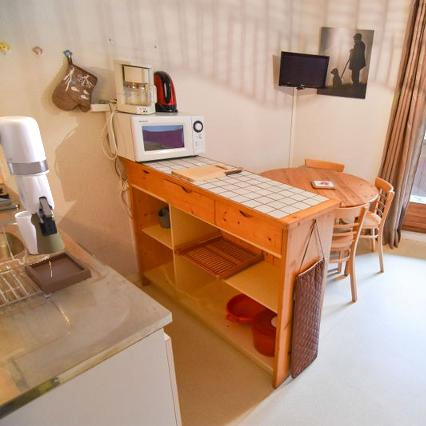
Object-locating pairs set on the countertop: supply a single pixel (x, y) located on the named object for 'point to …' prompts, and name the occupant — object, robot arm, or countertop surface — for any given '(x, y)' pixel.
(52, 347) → the countertop surface
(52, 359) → the countertop surface
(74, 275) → the tray
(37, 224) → the cork
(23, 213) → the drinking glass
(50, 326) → the countertop surface
